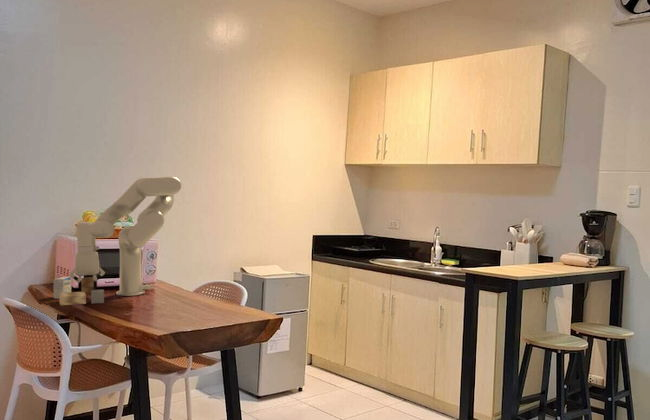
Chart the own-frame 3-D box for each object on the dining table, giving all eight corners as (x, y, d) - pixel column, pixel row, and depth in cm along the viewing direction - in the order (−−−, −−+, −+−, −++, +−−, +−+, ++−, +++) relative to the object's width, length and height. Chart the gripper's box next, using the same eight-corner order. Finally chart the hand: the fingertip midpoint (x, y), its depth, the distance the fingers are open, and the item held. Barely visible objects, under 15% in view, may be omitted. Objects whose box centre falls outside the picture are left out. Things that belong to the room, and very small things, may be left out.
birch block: (84, 300, 254) (84, 291, 254) (85, 304, 245) (85, 295, 245) (59, 302, 250) (59, 292, 250) (59, 306, 241) (59, 296, 241)
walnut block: (94, 290, 263) (93, 277, 262) (93, 292, 258) (93, 278, 258) (82, 291, 261) (81, 278, 261) (81, 293, 256) (81, 279, 256)
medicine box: (63, 298, 256) (63, 279, 256) (53, 298, 256) (53, 279, 256) (71, 295, 264) (71, 276, 264) (61, 295, 264) (61, 276, 264)
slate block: (104, 301, 253) (104, 289, 253) (103, 303, 248) (103, 291, 248) (91, 301, 251) (91, 290, 251) (91, 303, 246) (91, 291, 246)
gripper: (107, 247, 265) (108, 287, 266) (66, 249, 259) (67, 290, 260) (107, 249, 258) (108, 290, 259) (65, 251, 252) (66, 293, 253)
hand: (87, 290), depth 259 cm, fingers closed on walnut block, 5 cm apart
